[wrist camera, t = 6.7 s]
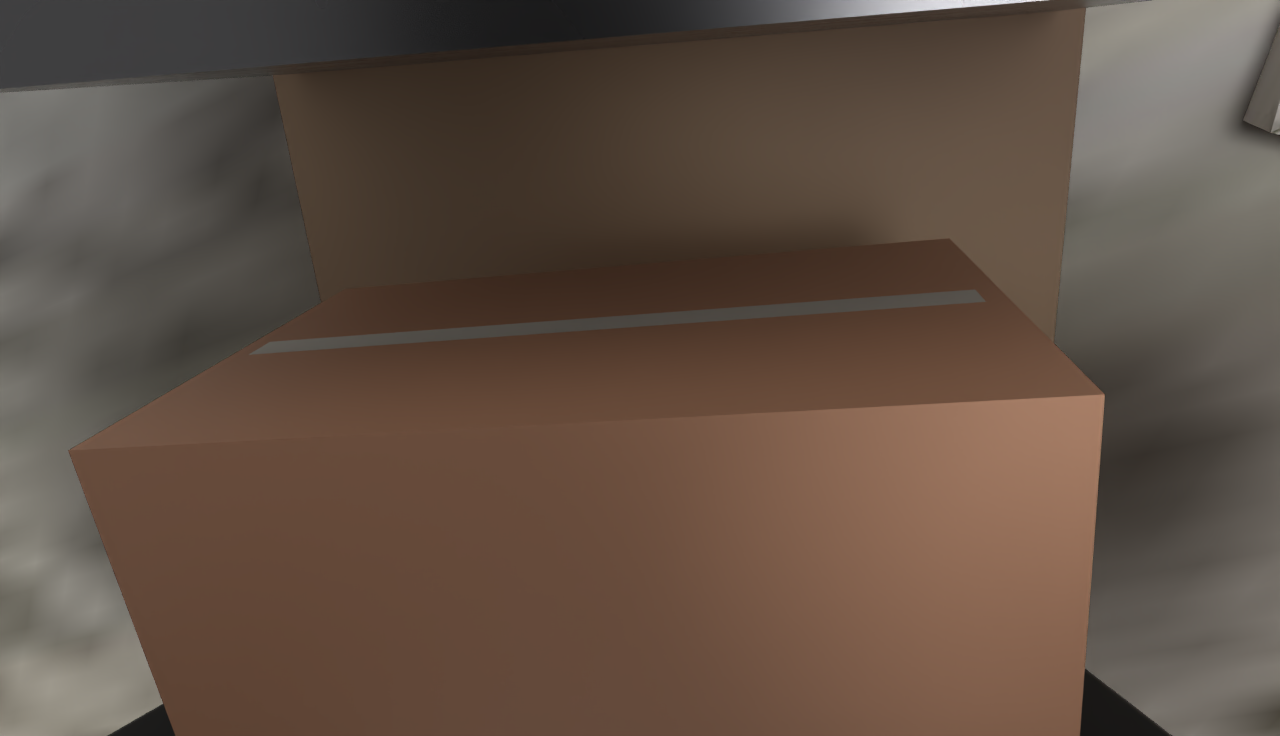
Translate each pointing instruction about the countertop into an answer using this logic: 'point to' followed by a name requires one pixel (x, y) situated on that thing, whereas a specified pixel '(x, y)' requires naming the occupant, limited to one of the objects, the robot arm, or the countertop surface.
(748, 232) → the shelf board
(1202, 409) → the countertop surface
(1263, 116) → the packaged product
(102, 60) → the bookend
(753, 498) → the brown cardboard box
